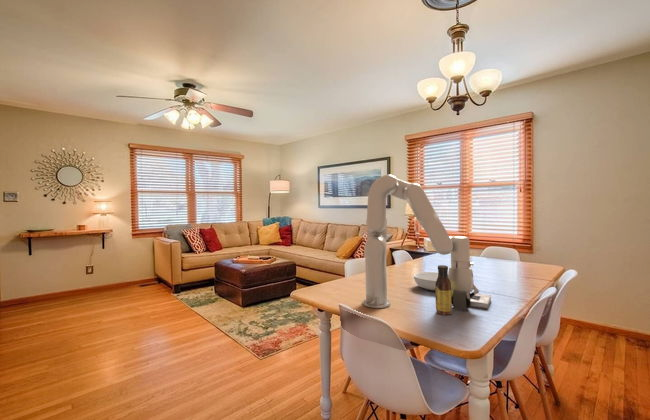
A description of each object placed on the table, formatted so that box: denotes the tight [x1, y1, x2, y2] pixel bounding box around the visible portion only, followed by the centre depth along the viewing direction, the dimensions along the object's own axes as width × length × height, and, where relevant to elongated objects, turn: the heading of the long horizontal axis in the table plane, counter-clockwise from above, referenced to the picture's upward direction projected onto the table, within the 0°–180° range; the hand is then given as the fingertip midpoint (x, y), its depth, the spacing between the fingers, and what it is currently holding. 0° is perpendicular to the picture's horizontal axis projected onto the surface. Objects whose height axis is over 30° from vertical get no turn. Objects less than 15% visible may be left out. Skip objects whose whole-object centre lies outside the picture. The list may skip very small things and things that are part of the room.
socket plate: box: [468, 292, 492, 310], centre depth 141 cm, size 14×14×3 cm
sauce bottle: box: [434, 264, 453, 316], centre depth 128 cm, size 6×6×20 cm
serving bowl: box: [413, 271, 438, 291], centre depth 166 cm, size 21×21×7 cm
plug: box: [452, 291, 468, 312], centre depth 134 cm, size 5×5×7 cm
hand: (460, 305), depth 134 cm, fingers closed on plug, 5 cm apart
